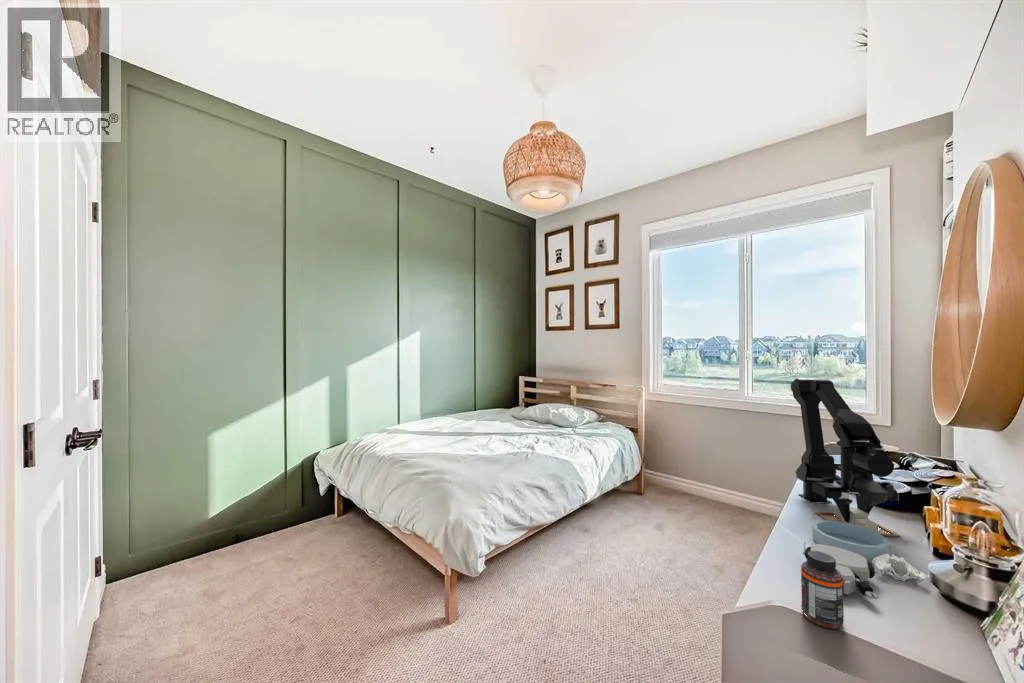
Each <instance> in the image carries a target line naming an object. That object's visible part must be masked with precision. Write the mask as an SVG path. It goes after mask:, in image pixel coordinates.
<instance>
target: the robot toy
mask: <svg viewBox="0 0 1024 683" xmlns="http://www.w3.org/2000/svg"><path fill="white" fill-rule="evenodd" d="M806 544H807V543H806V540H804V541H803V550H802V555H804V557H805V559H806V560H807V556H808V552H809V551H820V552H824V553H827V554H829V555H831V556H832V557H834V558H835V560H836V569H837V570H838V571H839V572H840V573H841V575H842V577H843V595H850V593H851V594H852V593H854V592H855V591H856V586H857V590H858V592H860V594H862V596H864V597H866V598H868V599H870V600H873V599H874V600H878V599H879V597H878V595H877V593H875V592H874V588H873V587H872V586H871V585H870V584H869V583H868V580H870V579H873V578H874V577H875V575H877V574H878V569H877V568H876V565H875V559H873V562H874V565H873V563H871V561H867V559H866V558H864V557H863V556H861V555H859V554H857V553H854V552H851V551H848V550H845V549H841V548H838V547H833V546H828V545H821V544H817V543H815V544H814V543H813V544H811V546H808V547H806Z"/></svg>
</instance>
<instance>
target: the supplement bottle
mask: <svg viewBox="0 0 1024 683" xmlns="http://www.w3.org/2000/svg"><path fill="white" fill-rule="evenodd" d="M800 568H801V569H800V577H801V580H800V582H801V585H800V586H801V589H800V590H801V611H802V610H803V612H804V613H805V614H806V615H807V617H808V621H810V622H811V623H813V624H815V625H817V626H819V627H822V628H826V629H830V630H838V628H839V629H841V628H842V627H843V626H844V617H845V616H844V612H845V611H844V592H843V577H842V575H841V573H840V572H839V571H838V570H837V569H836V560H835V558H834V557H832V556H831V555H829V554H827V553H824V552H820V551H809V552H808V556H807V559H806V561H804V562H802V563H801V566H800ZM803 612H802V613H803Z"/></svg>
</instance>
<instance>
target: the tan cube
mask: <svg viewBox="0 0 1024 683" xmlns="http://www.w3.org/2000/svg"><path fill="white" fill-rule="evenodd" d="M833 513H834V515H835V516H837V517H838V518H840V519H842V514H841V512H840V510H839V508H838V507H837V505H833Z"/></svg>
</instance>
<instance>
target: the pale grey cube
mask: <svg viewBox="0 0 1024 683" xmlns="http://www.w3.org/2000/svg"><path fill="white" fill-rule="evenodd" d="M876 523H877V522H875V521H873V520H871V519H869V518H868V519H855V525H857V526H860V527H863V528H866V529H869V530H872V531H874V532H876V533H878V524H879V523H877V524H876Z"/></svg>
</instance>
